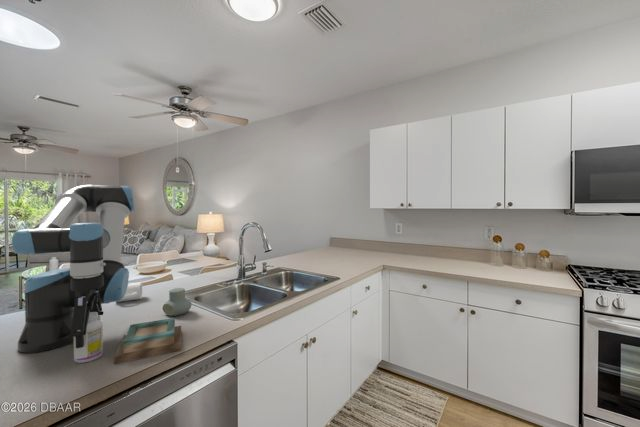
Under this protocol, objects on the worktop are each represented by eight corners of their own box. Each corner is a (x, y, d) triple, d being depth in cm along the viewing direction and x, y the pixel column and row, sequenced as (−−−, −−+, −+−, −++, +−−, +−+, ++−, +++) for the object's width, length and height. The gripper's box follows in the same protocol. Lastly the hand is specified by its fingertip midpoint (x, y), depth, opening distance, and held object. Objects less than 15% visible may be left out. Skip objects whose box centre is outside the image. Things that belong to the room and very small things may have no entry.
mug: (118, 299, 134) (118, 282, 134) (142, 296, 138) (142, 280, 138) (112, 307, 123) (112, 289, 123) (138, 303, 128) (138, 286, 128)
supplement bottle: (80, 354, 84) (79, 312, 83) (106, 350, 86) (105, 309, 86) (69, 365, 77) (68, 320, 77) (97, 361, 80) (97, 317, 79)
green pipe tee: (194, 312, 117) (194, 289, 117) (176, 319, 110) (176, 294, 110) (177, 308, 122) (177, 285, 122) (159, 314, 115) (159, 290, 115)
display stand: (114, 363, 78) (114, 344, 78) (124, 341, 92) (123, 324, 92) (181, 350, 86) (181, 332, 86) (181, 331, 99) (181, 315, 99)
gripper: (91, 284, 72) (92, 365, 72) (112, 266, 94) (113, 328, 94) (52, 287, 68) (54, 372, 69) (84, 268, 91) (85, 332, 91)
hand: (88, 347), depth 82 cm, fingers open, 13 cm apart
